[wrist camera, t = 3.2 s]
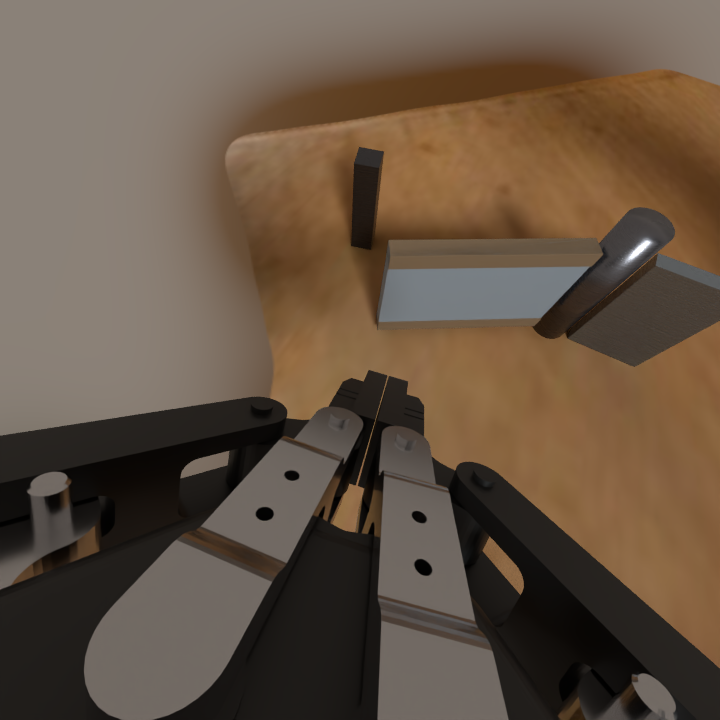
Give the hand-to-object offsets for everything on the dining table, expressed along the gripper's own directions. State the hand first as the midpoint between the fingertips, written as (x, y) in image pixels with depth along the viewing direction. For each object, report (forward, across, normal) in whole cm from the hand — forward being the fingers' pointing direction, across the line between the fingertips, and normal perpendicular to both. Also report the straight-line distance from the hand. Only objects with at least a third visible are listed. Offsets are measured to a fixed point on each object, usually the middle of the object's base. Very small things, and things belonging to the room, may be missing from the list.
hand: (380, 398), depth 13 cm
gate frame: (+24, -7, -2) cm, 25 cm away
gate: (+20, -5, 0) cm, 20 cm away
